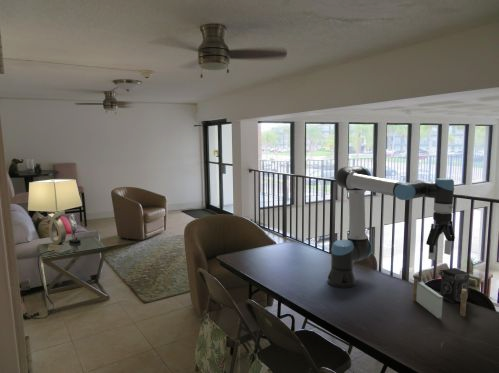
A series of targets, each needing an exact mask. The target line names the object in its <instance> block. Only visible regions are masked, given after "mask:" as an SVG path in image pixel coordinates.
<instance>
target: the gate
mask: <svg viewBox="0 0 499 373" xmlns="http://www.w3.org/2000/svg"><path fill="white" fill-rule="evenodd" d="M443 300H444V298H443V296H441V295H440V294H439V293H438V292H437V291H435V290H434V289H432V288H431V287H429V286H428V285H427V284H425V283H423V282H422V281H419V282H417V295H416V301H417V303H419V305H421V306H422V307H423V308H425V310H427V311H428V312H430V314H432V315H433V316H435V317H436V318H437V319H442V316H443V314H442V313H443V303H444V302H443Z"/></svg>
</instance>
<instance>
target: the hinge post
mask: <svg viewBox="0 0 499 373" xmlns="http://www.w3.org/2000/svg"><path fill="white" fill-rule="evenodd" d="M412 278H413V287H412V289H413V290H412V302H415V303H416V302H417V301H416V295H417V282H420V279H421V275H418V274H413V275H412ZM417 303H418V302H417Z"/></svg>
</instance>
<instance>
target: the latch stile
mask: <svg viewBox="0 0 499 373" xmlns="http://www.w3.org/2000/svg"><path fill="white" fill-rule="evenodd" d="M467 300H468V298H467V290H466V289H462V292H461V302H460V308H459V316H461V317H465V316H466V312H467Z"/></svg>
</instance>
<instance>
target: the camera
mask: <svg viewBox="0 0 499 373" xmlns="http://www.w3.org/2000/svg"><path fill="white" fill-rule="evenodd" d="M441 272H442V273H441V279H440V280H441V282H440V295H441V296H443V299H445V300H447V301H449V302H450V303H452V304H455V303H461V292H462V289H466V290H467V299H468V297H469V293H470V292H471V290H470V288H469V283H470V282H469V279H470V274H469V273H468V272H466V271H464V270H461V269H459V268H455V267H452V268H445V269H444V268H443V269H442V270H441Z"/></svg>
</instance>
